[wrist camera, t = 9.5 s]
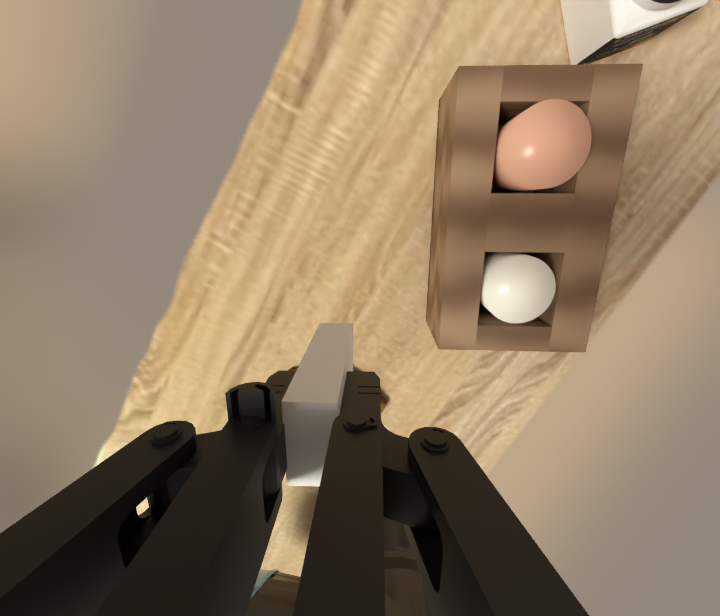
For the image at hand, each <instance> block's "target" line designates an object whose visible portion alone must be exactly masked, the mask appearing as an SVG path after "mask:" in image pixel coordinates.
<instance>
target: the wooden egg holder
mask: <svg viewBox="0 0 720 616" xmlns="http://www.w3.org/2000/svg"><path fill="white" fill-rule="evenodd" d="M642 65H643V64H594V65H514V66H459V67H458V69H457V70H456V72H455V74H454V76H453V77H452V79H451V81H450V82H449V84H448V86H447V87H446V89H445V91H444V93H443V94H442V96H441V98H440V99H439V111H438V128H437V145H436V162H435V178H434V195H433V212H432V229H431V245H430V262H429V279H428V296H427V312H426V322H427V324H428V326H429V328H430V331H431V333H432V335H433V338H434V340H435V342H436V344H437V347H438V349H454V350H501V351H548V352H586V347H587V342H588V337H589V332H590V327H591V322H592V317H593V312H594V307H595V302H596V297H597V292H598V287H599V282H600V277H601V272H602V267H603V262H604V257H605V252H606V246H607V241H608V236H609V231H610V226H611V221H612V216H613V211H614V206H615V201H616V196H617V191H618V186H619V181H620V176H621V171H622V166H623V161H624V156H625V151H626V146H627V141H628V136H629V131H630V126H631V120H632V115H633V110H634V105H635V100H636V95H637V90H638V85H639V80H640V75H641V70H642ZM549 99H562V100H567V101H569V102H572V103H573V104H575V105H577V106H578V107H579V108H580V109H581V110H582V111H583V112H584V114H585V115H586V117H587V119H588V121H589V124H590V127H591V136H592V140H591V147H590V151H589V154H588V157H587V159H586V161H585V163H584V164H583V166H582V167H581V168H580V170H579V171H578V172H577V173H576V174H575V175H574V176H573V177H572V178H571V179H569V180H568V181H566V182H565V183H563V184H561V185H558V186H555V187H552V188H546V189H537V190H528V191H519V192H509V193H504V192H499V191H496V190H494V189H492V179H493V169H494V159H495V150H496V140H497V130H498V128H499V127H500V126H502V125H503V124H505V123H507V122H508V121H510V120H511V119H513V118H514V117H516V116H517V115H519V114H520V113H522V112H523V111H525V110H526V109H528V108H530V107H531V106H533V105H534V104H536V103H538V102H541V101H544V100H549ZM485 252H519V253H523V254H526V255H529V256H532V257H535V258H538V259H540V260H542V261H543V262H544V263H546V264H547V265H548V266H549V268H550V269H551V270H552V272H553V274H554V277H555V282H556V289H555V294H554V297H553V300H552V302H551V304H550V305H549V307H548V308H547V309H546V310H545V311H544V312H543V313H542V314H541V315H540V316H538V317H537V318H535V319H533V320H531V321H528V322H525V323H508V322H504V321H502V320H500V319H498V318H497V317H495V316H494V315H493V314H492V313H491V312H490V311H489V310H488V309H486V308H485V307H484V306H483V305H482V304H481V303H480V295H481V286H482V276H483V266H484V256H485Z"/></svg>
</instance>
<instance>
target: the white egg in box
mask: <svg viewBox="0 0 720 616" xmlns="http://www.w3.org/2000/svg"><path fill="white" fill-rule="evenodd" d="M555 289H556V282H555V277H554V274H553V272H552V270H551V269H550V268H549V266H548V265H547V264H546V263H544V262H543V261H542V260H540V259H538V258H535V257H532V256H529V255H526V254H523V253H519V252H485V256H484V266H483V276H482V286H481V295H480V303H481V304H482V305H483V306H484V307H485V308H486V309H488V310H489V311H490V312H491V313H492V314H493V315H494V316H495V317H497V318H498V319H500V320H502V321H504V322H508V323H525V322H528V321H531V320H533V319H535V318H537V317H538V316H540V315H541V314H542V313H543V312H544V311H545V310H546V309H547V308H548V307H549V305H550V304H551V302H552V300H553V297H554V294H555Z"/></svg>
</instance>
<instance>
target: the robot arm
mask: <svg viewBox="0 0 720 616" xmlns="http://www.w3.org/2000/svg"><path fill="white" fill-rule="evenodd" d="M225 394H226V403H227V411H228V422H227V423H226V425H225V426H224V428H223V429H222V430H220V431H216V432H210V433H204V434H198V435H196V431H195V427H194V426H193V424H192V423H189V422H187V421H172V422H171V421H169V422H165V423H163V424H160V425H157V426H155V427H153V428H151V429H149V430H148V431H146V432H144V433H143V434H142V435H140V436H139V437H137V438H136V439H134V440H133V441H132V442H130V443H129V444H127V445H126V446H124V447H123V448H122V449H120V450H119V451H117V452H116V453H114V454H113V455H112V456H110V457H109V458H107V459H106V460H104V461H103V462H102V463H100V464H99V465H97V466H96V467H94V468H93V469H92V470H90V471H89V472H87V473H86V474H84V475H83V476H82V477H80V478H79V479H77V480H76V481H74V482H73V483H72V484H70V485H69V486H67V487H66V488H64V489H63V490H62V491H60V492H59V493H57V494H56V495H54V496H53V497H52V498H50V499H49V500H47V501H46V502H44V503H43V504H42V505H40V506H39V507H37V508H36V509H35V510H33V511H32V512H31V513H29V514H27V515H26V516H24V517H23V518H22V519H20V520H19V521H17V522H16V523H15V524H13V525H12V526H10V527H9V528H7V529H6V530H5V531H3V532H2V533H0V616H589V615H588V614H587V612H586V611H585V609H584V608H583V607H582V605H581V604H580V603H579V601H578V600H577V599H576V597H575V596H574V594H573V593H572V592H571V591H570V589H569V588H568V586H567V585H566V584H565V582H564V581H563V580H562V578H561V577H560V575H559V574H558V573H557V572H556V570H555V569H554V567H553V566H552V564H551V563H550V562H549V561H548V559H547V558H546V556H545V555H544V554H543V552H542V551H541V549H540V548H539V547H538V545H537V544H536V543H535V541H534V540H533V539H532V537H531V536H530V534H529V533H528V532H527V530H526V529H525V528H524V526H523V525H522V524H521V522H520V521H519V520H518V518H517V517H516V515H515V514H514V513H513V511H512V510H511V509H510V507H509V506H508V504H507V503H506V502H505V500H504V499H503V498H502V496H501V495H500V494H499V492H498V491H497V489H496V488H495V487H494V485H493V484H492V483H491V481H490V480H489V479H488V477H487V476H486V474H485V473H484V472H483V470H482V469H481V468H480V466H479V465H478V464H477V462H476V461H475V459H474V458H473V457H472V455H471V454H470V453H469V451H468V450H467V449H466V447H465V446H464V444H463V443H462V442H461V440H460V439H459V438H458V437H457V436H455V435H454V434H453V433H451V432H449V431H447V430H445V429H441V428H437V427H424V428H420V429H417V430H415V431H414V432H413V433H411V435H410V437H409V438H406V437H402V436H399V435H396V434H394V433H392V432H390V431H389V430H387V429H386V428H385V427H384V425H383V424H382V422H381V407H380V378H379V377H378V376H377V375H376V374H375V372H357V371H353V324H337V323H320V324H319V326H318V328H317V330H316V332H315V334H314V336H313V338H312V340H311V342H310V344H309V346H308V348H307V350H306V352H305V354H304V356H303V358H302V360H301V362H300V365H299V367H298V369H297V371H278V372H276V373H275V374H273V375H271V376H270V377H269V378H268V380H267V381H266V383H261V382H252V383H245V384H241V385H238V386H236V387H234V388H231V389H230V390H229V391H228V392H226V393H225ZM285 472H286V479H287V485H293V486H319V491H318V496H317V501H316V506H315V511H314V516H313V520H312V525H311V530H310V535H309V540H308V544H307V549H306V554H305V559H304V564H303V569H302V573H301V577H298V576H294V575H290V574H285V573H281V572H279V571H278V570H276V569H274V570H271V571H269V570H261V569H260V568H261V565H262V561H263V558H264V555H265V552H266V549H267V546H268V543H269V539H270V536H271V533H272V530H273V527H274V524H275V521H276V517H277V514H278V511H279V508H280V505H281V502H282V481H283V478H284V475H285ZM146 497H147V499H148V504H149V508H148V509H147V510H146V511H145V512H143V513H142V514H140V515H139V516H138V514H137V510H136V507H137V506H138V505H139V504H140V503H141V502H142V501H143V500H144V499H145V498H146Z"/></svg>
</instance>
